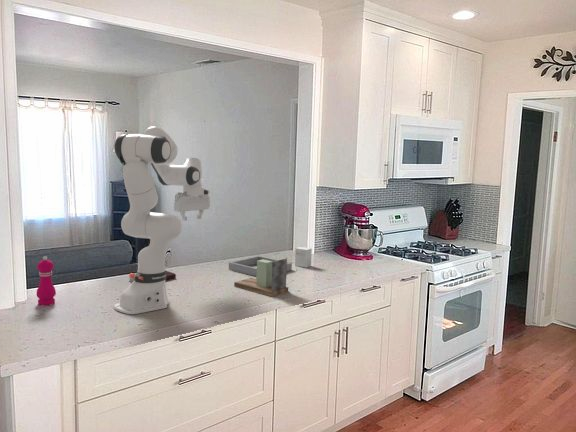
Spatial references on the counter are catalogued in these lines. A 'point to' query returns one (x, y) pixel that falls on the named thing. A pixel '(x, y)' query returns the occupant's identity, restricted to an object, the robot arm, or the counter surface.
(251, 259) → the gray square frame
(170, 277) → the book
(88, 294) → the counter surface
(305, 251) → the small box
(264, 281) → the sage green box
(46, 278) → the pepper mill
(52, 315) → the counter surface
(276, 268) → the bookend
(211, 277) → the counter surface
